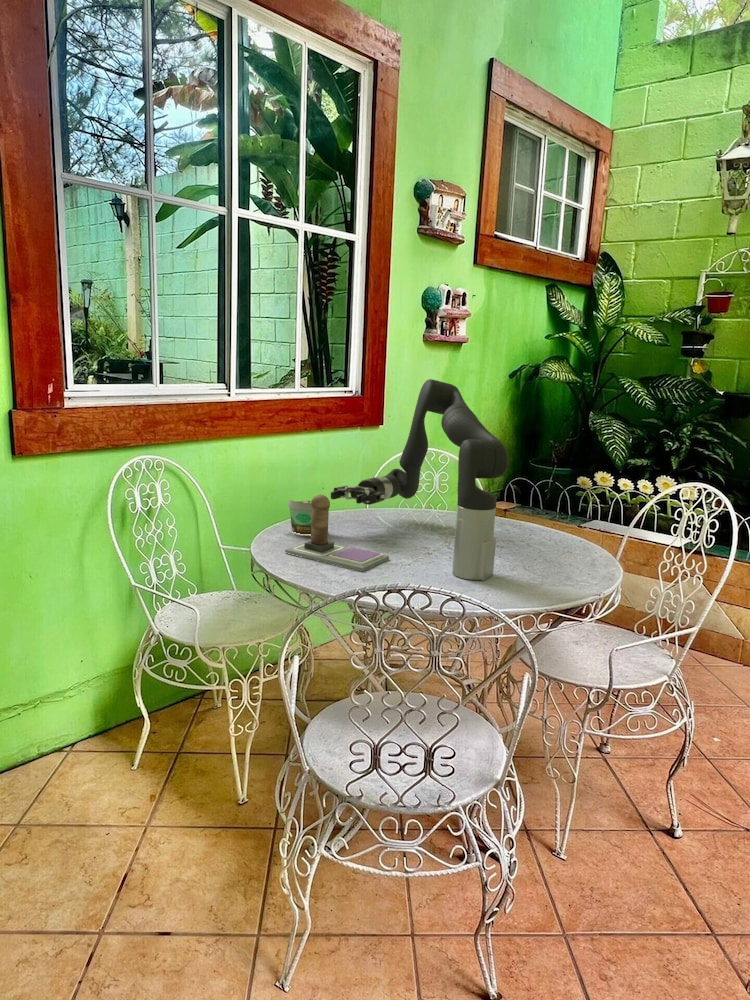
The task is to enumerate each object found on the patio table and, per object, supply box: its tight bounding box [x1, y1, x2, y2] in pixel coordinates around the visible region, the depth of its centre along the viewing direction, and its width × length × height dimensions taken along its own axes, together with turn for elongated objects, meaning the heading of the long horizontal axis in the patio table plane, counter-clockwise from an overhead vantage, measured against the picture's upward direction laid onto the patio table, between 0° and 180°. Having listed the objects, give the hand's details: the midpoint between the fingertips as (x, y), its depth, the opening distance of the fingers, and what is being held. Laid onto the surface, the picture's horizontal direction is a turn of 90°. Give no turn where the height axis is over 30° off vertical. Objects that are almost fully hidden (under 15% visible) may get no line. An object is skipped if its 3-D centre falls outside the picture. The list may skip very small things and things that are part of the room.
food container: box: [286, 498, 312, 534], centre depth 187 cm, size 12×6×10 cm, turn 92°
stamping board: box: [284, 542, 390, 572], centre depth 168 cm, size 24×13×2 cm, turn 58°
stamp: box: [304, 494, 335, 552], centre depth 170 cm, size 6×6×14 cm
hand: (344, 497), depth 178 cm, fingers open, 8 cm apart
